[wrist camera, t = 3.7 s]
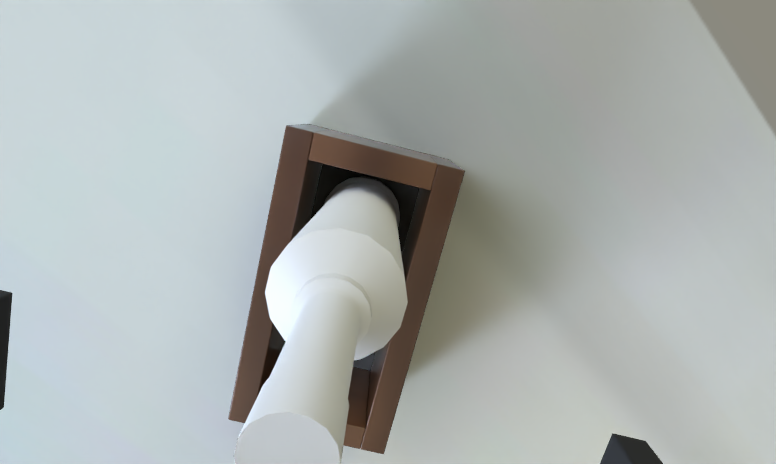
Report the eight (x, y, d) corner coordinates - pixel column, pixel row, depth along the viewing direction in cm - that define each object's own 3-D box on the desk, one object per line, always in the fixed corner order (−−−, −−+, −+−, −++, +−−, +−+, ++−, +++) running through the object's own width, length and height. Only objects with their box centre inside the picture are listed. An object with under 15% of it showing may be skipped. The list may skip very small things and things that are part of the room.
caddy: (258, 363, 36) (227, 419, 29) (308, 123, 32) (285, 124, 25) (385, 392, 37) (383, 454, 30) (449, 159, 33) (465, 170, 26)
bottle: (397, 249, 34) (411, 577, 10) (323, 244, 34) (156, 561, 10) (402, 176, 33) (435, 344, 9) (327, 171, 33) (145, 324, 9)
